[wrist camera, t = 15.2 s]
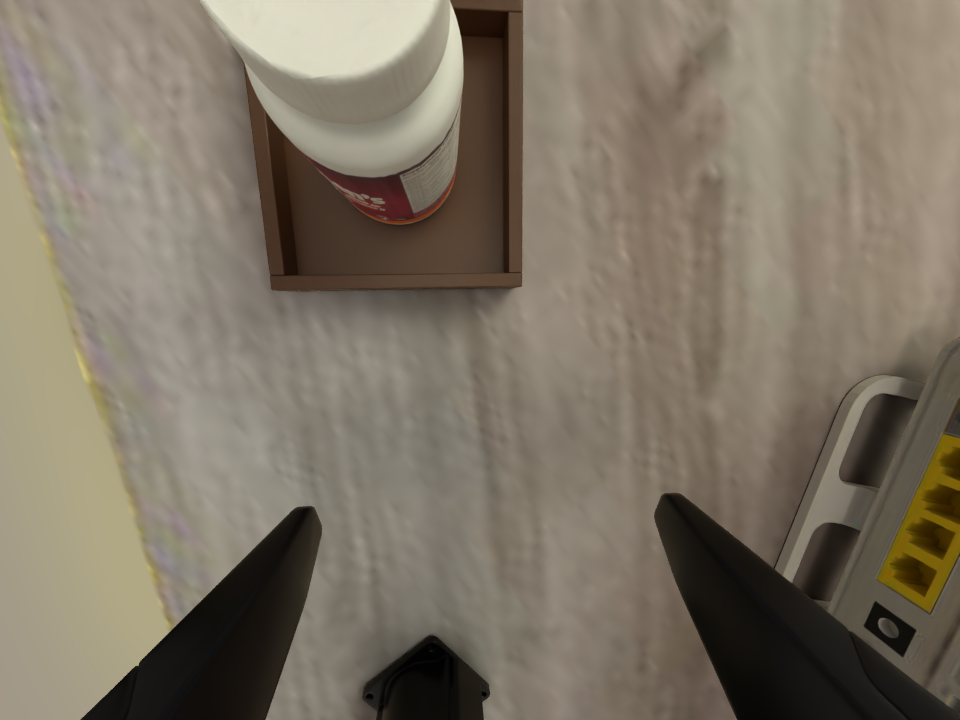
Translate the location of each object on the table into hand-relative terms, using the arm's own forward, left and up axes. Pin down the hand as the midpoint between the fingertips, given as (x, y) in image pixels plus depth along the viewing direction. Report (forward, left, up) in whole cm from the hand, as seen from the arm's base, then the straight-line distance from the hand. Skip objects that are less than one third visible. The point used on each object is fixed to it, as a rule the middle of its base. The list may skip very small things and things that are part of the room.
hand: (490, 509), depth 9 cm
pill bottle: (+5, +12, -12) cm, 17 cm away
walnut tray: (+5, +12, -12) cm, 18 cm away
